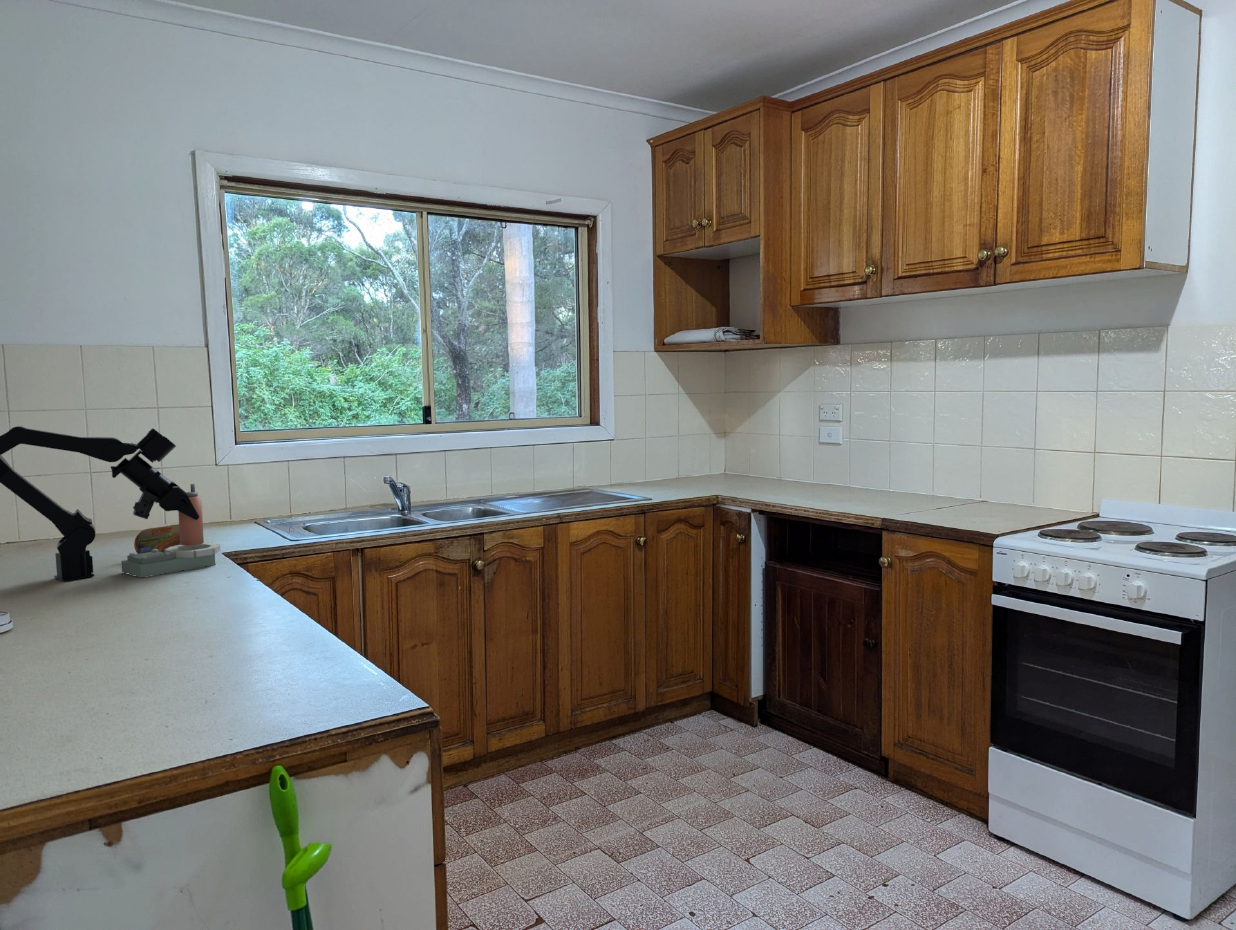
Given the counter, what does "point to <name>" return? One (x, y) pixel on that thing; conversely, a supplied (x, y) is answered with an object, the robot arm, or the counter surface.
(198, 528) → the oil can
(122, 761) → the counter surface
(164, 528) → the tin
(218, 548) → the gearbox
